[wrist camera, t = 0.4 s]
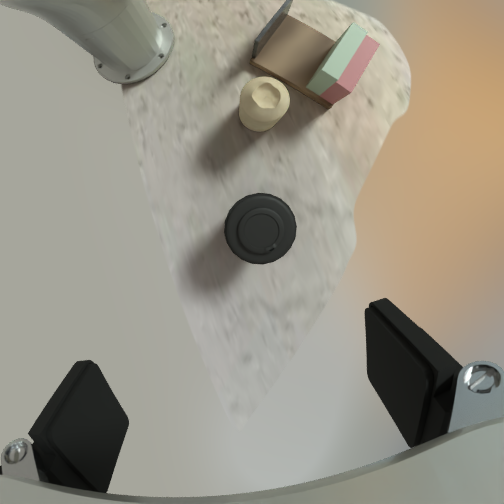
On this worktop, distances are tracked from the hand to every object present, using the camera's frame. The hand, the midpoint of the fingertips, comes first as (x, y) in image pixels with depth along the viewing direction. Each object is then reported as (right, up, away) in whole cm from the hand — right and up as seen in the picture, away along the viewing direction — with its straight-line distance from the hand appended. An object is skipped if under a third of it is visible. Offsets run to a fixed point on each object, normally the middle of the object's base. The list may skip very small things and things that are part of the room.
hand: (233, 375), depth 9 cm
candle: (+2, +23, +30) cm, 38 cm away
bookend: (+3, +34, +25) cm, 42 cm away
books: (+12, +29, +27) cm, 41 cm away
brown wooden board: (+8, +32, +28) cm, 43 cm away
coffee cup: (+1, +9, +33) cm, 34 cm away
